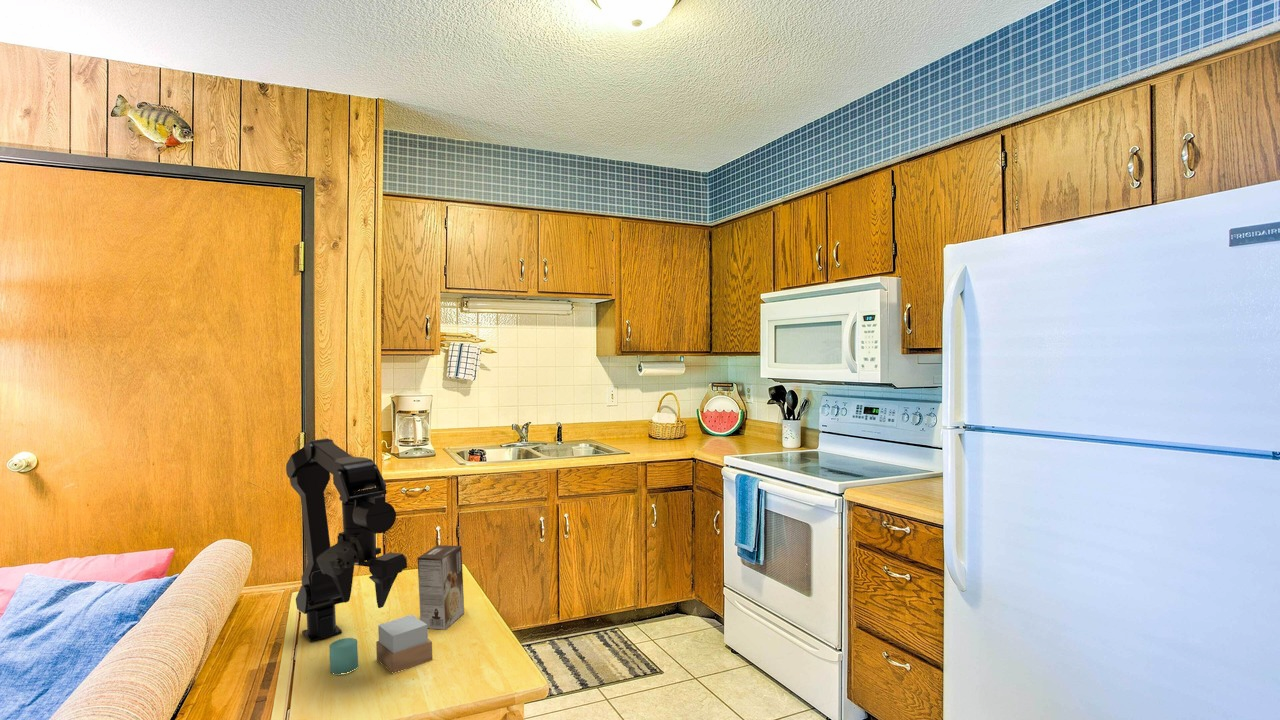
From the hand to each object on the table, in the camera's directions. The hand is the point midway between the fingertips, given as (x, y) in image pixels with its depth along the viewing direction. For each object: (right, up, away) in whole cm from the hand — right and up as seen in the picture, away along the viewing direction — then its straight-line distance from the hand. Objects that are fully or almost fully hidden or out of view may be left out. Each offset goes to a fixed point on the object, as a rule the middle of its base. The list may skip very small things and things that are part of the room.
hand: (363, 604), depth 132 cm
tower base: (+7, -13, +3) cm, 15 cm away
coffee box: (+9, -12, +21) cm, 26 cm away
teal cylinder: (-4, -13, 0) cm, 13 cm away
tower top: (+7, -9, +3) cm, 11 cm away
